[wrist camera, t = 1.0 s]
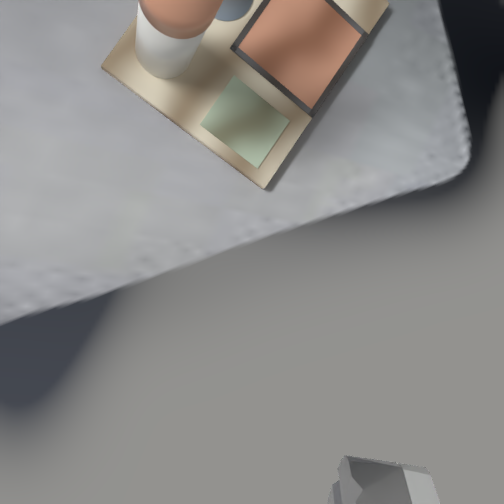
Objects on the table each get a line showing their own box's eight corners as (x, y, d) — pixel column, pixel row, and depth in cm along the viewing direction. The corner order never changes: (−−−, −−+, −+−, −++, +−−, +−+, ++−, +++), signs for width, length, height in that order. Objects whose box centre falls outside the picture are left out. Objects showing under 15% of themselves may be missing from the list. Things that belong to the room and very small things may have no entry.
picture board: (101, 68, 36) (98, 50, 32) (244, -132, 37) (260, -176, 33) (261, 188, 41) (278, 187, 36) (384, 6, 42) (415, -16, 37)
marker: (121, 54, 36) (121, -23, 23) (155, 6, 36) (173, -96, 23) (171, 92, 37) (196, 39, 25) (204, 46, 37) (244, -30, 25)
